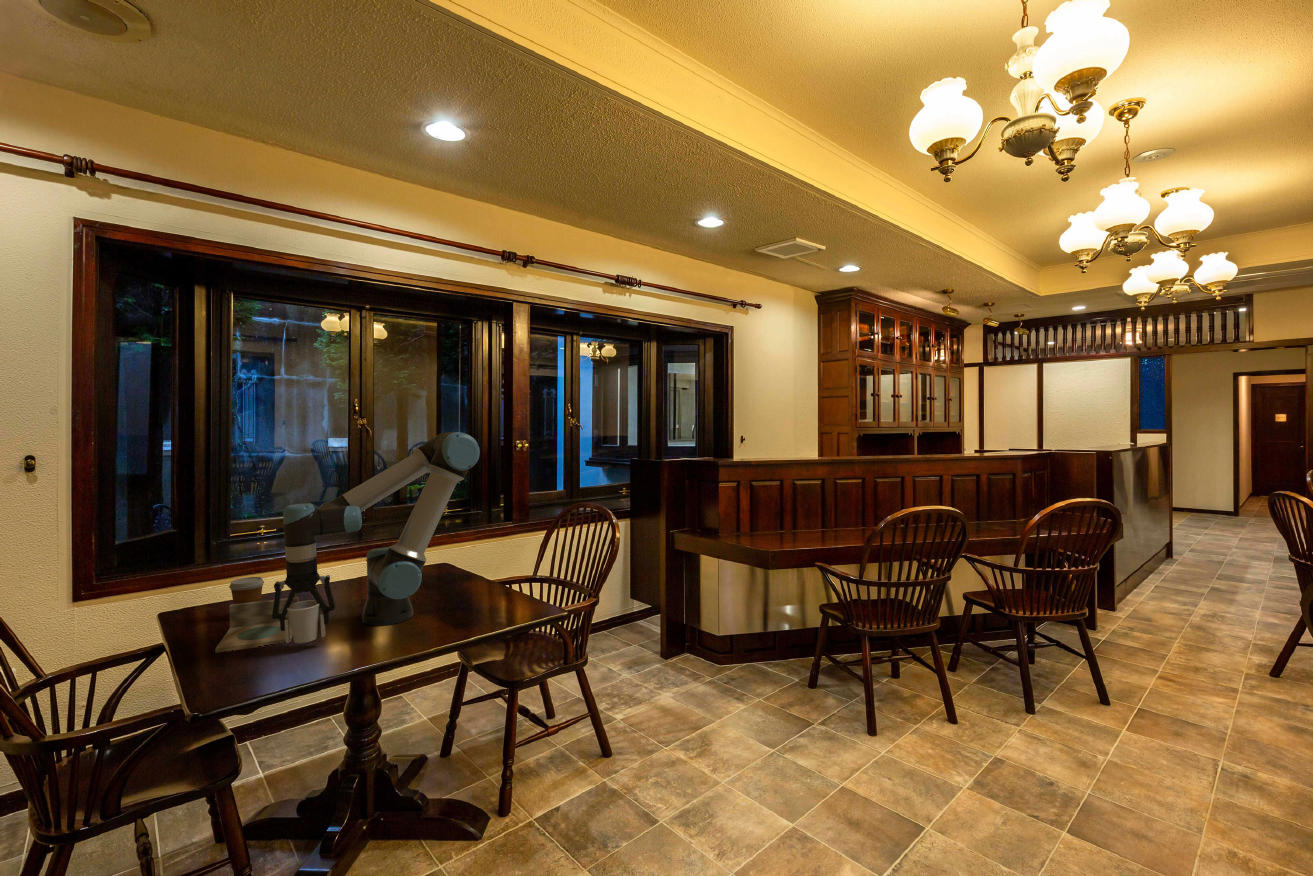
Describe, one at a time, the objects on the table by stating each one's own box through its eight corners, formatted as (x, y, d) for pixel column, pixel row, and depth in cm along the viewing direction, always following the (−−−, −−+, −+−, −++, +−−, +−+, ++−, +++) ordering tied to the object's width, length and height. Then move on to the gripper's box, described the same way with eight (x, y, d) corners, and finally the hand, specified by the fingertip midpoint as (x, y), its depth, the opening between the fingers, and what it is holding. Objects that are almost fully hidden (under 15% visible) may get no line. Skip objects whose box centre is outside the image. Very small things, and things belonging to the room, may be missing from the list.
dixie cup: (326, 639, 170) (324, 604, 170) (292, 647, 165) (290, 611, 164) (317, 631, 177) (316, 598, 176) (285, 639, 171) (283, 604, 170)
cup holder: (298, 621, 193) (298, 597, 193) (290, 642, 175) (289, 615, 175) (231, 630, 185) (230, 604, 185) (215, 652, 168) (214, 624, 167)
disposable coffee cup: (272, 613, 202) (271, 577, 201) (245, 622, 193) (244, 585, 192) (249, 610, 204) (248, 575, 204) (222, 619, 195) (221, 583, 195)
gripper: (343, 551, 177) (347, 627, 178) (260, 561, 169) (264, 640, 170) (342, 557, 170) (346, 636, 172) (254, 567, 162) (260, 650, 163)
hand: (305, 638), depth 171 cm, fingers closed on dixie cup, 8 cm apart
